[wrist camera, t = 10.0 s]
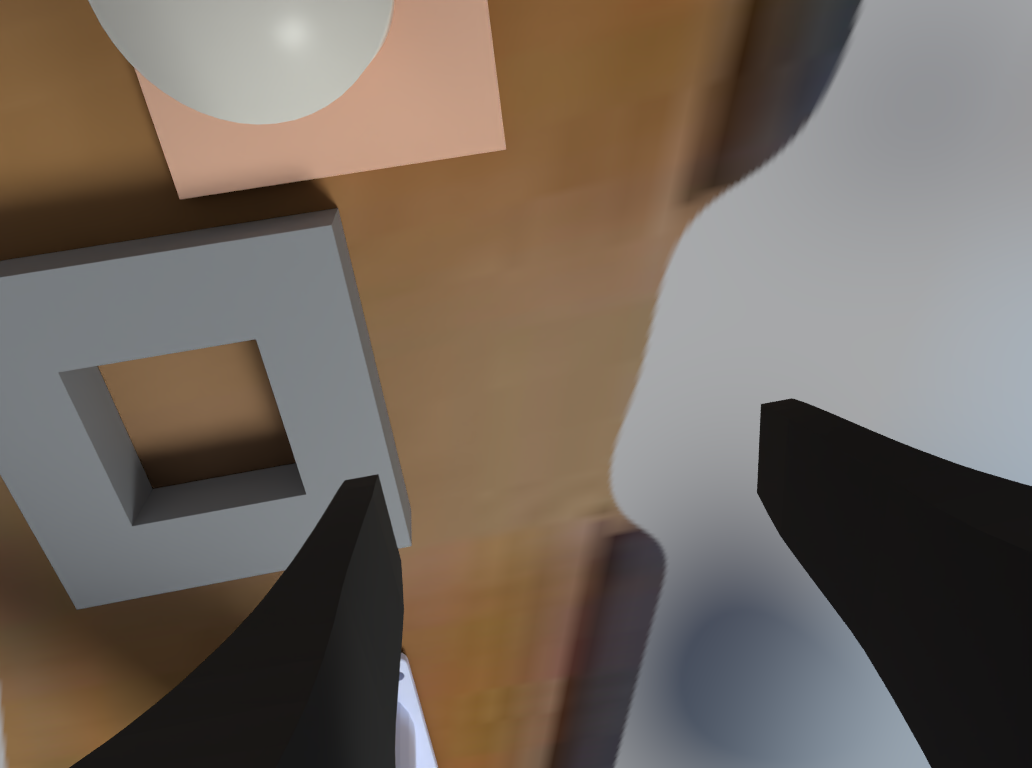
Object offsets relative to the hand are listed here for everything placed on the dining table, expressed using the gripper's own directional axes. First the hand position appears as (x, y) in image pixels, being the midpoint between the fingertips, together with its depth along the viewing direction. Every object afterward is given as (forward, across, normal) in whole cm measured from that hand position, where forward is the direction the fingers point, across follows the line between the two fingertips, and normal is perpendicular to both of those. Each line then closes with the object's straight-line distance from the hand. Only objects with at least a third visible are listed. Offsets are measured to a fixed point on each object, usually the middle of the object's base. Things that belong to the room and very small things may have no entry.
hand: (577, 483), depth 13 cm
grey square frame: (+10, +10, +2) cm, 15 cm away
